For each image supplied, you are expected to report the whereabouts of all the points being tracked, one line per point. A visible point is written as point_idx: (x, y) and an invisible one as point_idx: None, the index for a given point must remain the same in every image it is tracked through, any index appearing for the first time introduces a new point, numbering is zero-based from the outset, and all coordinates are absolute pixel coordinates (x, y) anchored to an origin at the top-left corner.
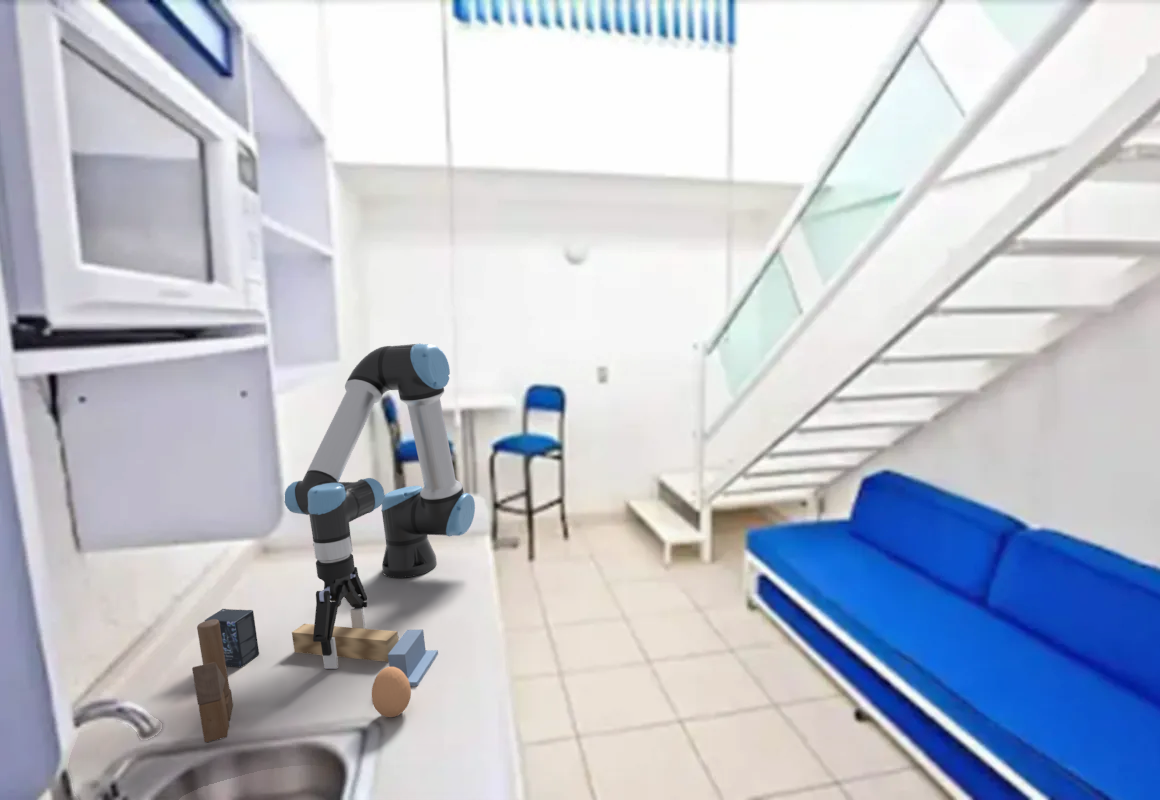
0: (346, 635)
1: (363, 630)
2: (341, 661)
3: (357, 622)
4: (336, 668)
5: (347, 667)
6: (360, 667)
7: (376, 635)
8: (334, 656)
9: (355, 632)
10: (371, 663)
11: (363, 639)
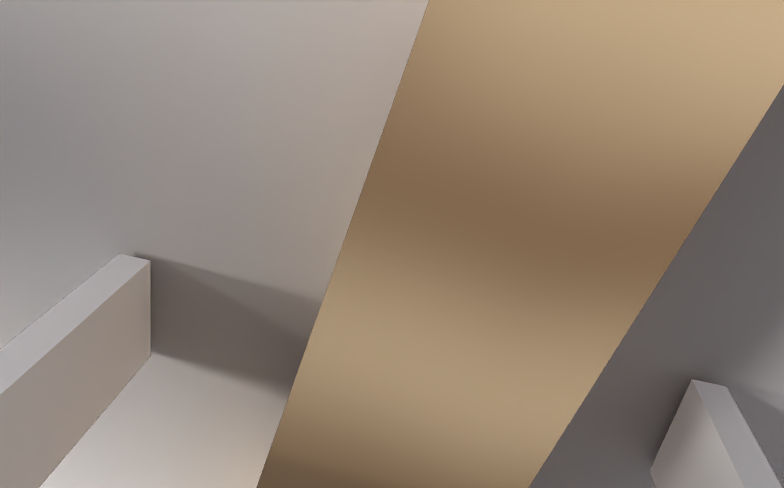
0: (486, 484)
1: (377, 302)
2: None
3: (58, 403)
4: (725, 388)
5: (717, 297)
6: (777, 169)
7: (637, 42)
8: (770, 482)
9: (421, 395)
10: None
11: (670, 245)
